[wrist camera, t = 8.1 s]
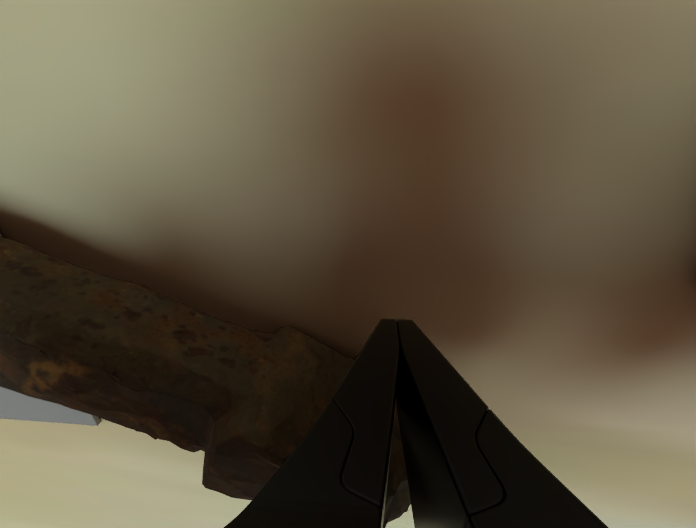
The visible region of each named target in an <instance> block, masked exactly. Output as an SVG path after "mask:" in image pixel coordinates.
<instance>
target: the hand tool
mask: <svg viewBox="0 0 696 528" xmlns="http://www.w3.org/2000/svg"><path fill="white" fill-rule="evenodd" d="M354 361H355V360H354V359H353V358H350V357H348V356H345V355H343V354H341V353H338V352H336V351H334V350H332V349H331V348H329V347H327V346H325V345H323V344H322V343H320V342H318V341H316V340H314V339H313V338H311V337H309V336H308V335H306V334H304V333H303V332H301V331H299V330H298V329H295V328H293V327H290V326H289V327H282V328H280V329H278V330H276V331H274V332H272V333H270V334H269V333H264V332H259V331H255V330H250V329H246V328H243V327H240V326H238V325H235V324H232V323H229V322H225V321H222V320H219V319H216V318H213V317H211V316H209V315H208V314H206V313H204V312H202V311H199V310H197V309H195V308H192V307H190V306H187V305H185V304H182V303H179V302H177V301H174V300H171V299H169V298H166V297H164V296H162V295H160V294H158V293H155V292H153V291H152V290H150V289H148V288H147V287H145V286H142V285H138V284H134V283H130V282H126V281H122V280H118V279H114V278H110V277H106V276H103V275H100V274H97V273H95V272H92V271H89V270H86V269H83V268H80V267H78V266H75V265H73V264H70V263H68V262H65V261H62V260H60V259H57V258H54V257H52V256H49V255H46V254H44V253H42V252H40V251H38V250H36V249H34V248H32V247H30V246H28V245H25V244H22V243H20V242H17V241H13V240H9V239H5V238H2V237H0V387H3V388H6V389H9V390H12V391H15V392H18V393H21V394H23V395H26V396H29V397H33V398H36V399H40V400H44V401H48V402H52V403H56V404H60V405H62V406H65V407H68V408H70V409H74V410H77V411H81V412H84V413H87V414H91V415H94V416H97V417H99V418H102V419H105V420H108V421H111V422H113V423H116V424H119V425H122V426H125V427H127V428H131V429H134V430H136V431H139V432H144V433H146V434H148V435H150V436H151V437H152V438H154V439H155V440H156V439H157V438H158V439H161V440H167V441H170V442H172V443H173V444H175V445H177V446H178V447H180V448H182V449H184V450H188V451H191V452H196V451H199V450H202V451H204V452H205V457H204V466H203V480H202V484H203V485H204V487H205V488H208V489H211V490H214V491H217V492H220V493H222V494H225V495H227V496H230V497H232V498H240V499H247V500H253V499H254V498H255V497H256V495H257V494H258V493H259V492H260V491H261V489H262V488H263V487H264V486H265V485H266V483H267V482H268V481H269V480H270V479H271V477H272V476H273V475H274V474H275V473H276V471H277V470H278V469H279V468H280V467H281V465H282V464H283V463H284V462H285V461H286V459H287V458H288V457H289V456H290V455H291V453H292V452H293V451H294V450H295V448H296V447H297V446H298V445H299V443H300V442H301V441H302V440H303V438H304V437H305V436H306V434H307V433H308V432H309V431H310V429H311V428H312V426H313V425H314V424H315V422H316V421H317V419H318V418H319V416H320V415H321V413H322V412H323V410H324V409H325V407H326V405H327V404H328V402H329V401H330V400H331V398H332V396H333V394H334V393H335V391H336V390H337V388H338V386H339V385H340V383H341V382H342V380H343V379H344V377H345V375H346V374H347V372H348V371H349V369H350V367H351V366H352V364H353V363H354ZM410 504H411V499H410V492H409V486H408V479H407V473H406V466H405V460H404V453H403V447H402V440H401V433H400V427H399V420H398V414H397V406H396V401H395V412H394V422H393V431H392V441H391V451H390V461H389V471H388V481H387V491H386V501H385V511H384V521H383V528H385V526H386V524H387V523H388V522H390V521H392V520H394V519H396V518H399V517H400V516H401V515H402V514H403V513H404V512H407V510H408V507H409V505H410Z"/></svg>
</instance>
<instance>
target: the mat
mask: <svg viewBox="0 0 696 528" xmlns="http://www.w3.org/2000/svg"><path fill="white" fill-rule="evenodd" d="M0 237H2V238H3V236H2V234H1V233H0ZM0 419H14V420H27V421H41V422H55V423H69V424H82V425H96V426H98V424H99V423H100V422H101V421H100V419H99V417H97V416H94V415H91V414H87V413H84V412H81V411H77V410H74V409H70V408H68V407H65V406H62V405H60V404H56V403H52V402H48V401H44V400H40V399H36V398H33V397H29V396H26V395H23V394H21V393H18V392H15V391H12V390H9V389H6V388H3V387H0Z"/></svg>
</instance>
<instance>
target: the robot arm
mask: <svg viewBox="0 0 696 528" xmlns="http://www.w3.org/2000/svg"><path fill="white" fill-rule="evenodd" d="M395 401H396V406H397V414H398V420H399V427H400V433H401V440H402V447H403V453H404V460H405V466H406V473H407V479H408V486H409V492H410V499H411V505H412V512H413V519H414V525H415V528H608V527H607V526H606V525H605V524H604V523H603V522H602V521H601V520H600V519H599V518H598V517H597V516H596V515H595V514H594V513H593V512H592V511H591V510H589V509H588V508H587V507H586V506H585V505H584V504H583V503H582V502H581V501H580V500H579V499H578V498H577V497H576V496H575V495H574V494H573V493H572V492H571V491H570V490H569V489H568V488H566V487H565V486H564V485H563V484H562V483H561V482H560V481H559V480H558V479H557V478H556V477H555V476H554V475H553V474H552V473H551V472H550V471H549V470H548V469H547V468H546V467H545V466H544V465H543V464H542V463H541V462H540V461H539V460H538V459H537V458H535V457H534V456H533V455H532V454H531V453H530V452H529V451H528V450H527V449H526V448H525V447H524V446H523V445H522V444H521V443H520V441H519V440H518V439H517V438H516V437H515V436H514V435H513V434H512V433H511V432H510V431H509V430H508V428H507V427H506V426H505V425H504V424H503V423H502V422H501V421H500V420H499V418H498V417H497V416H496V415H495V414H494V413H493V412H492V410H490V409H489V408H488V406H487V405H486V404H485V403H484V402H483V400H482V399H481V398H480V397H479V396H478V395H477V394H476V392H475V391H474V390H473V389H472V388H471V387H470V386H469V384H468V383H467V382H466V381H465V380H464V379H463V378H462V376H461V375H460V374H459V373H458V372H457V371H456V370H455V368H454V367H453V366H452V365H451V364H450V363H449V362H448V360H447V359H446V358H445V357H444V356H443V355H442V354H441V352H440V351H439V350H438V349H437V348H436V347H435V346H434V344H433V343H432V342H431V341H430V340H429V339H428V338H427V336H426V335H425V334H424V333H423V332H422V331H421V330H420V328H419V327H418V326H417V325H416V324H415V323H414V322H413V321H412V320H408V319H398V320H397V321H396V320H395V319H385V318H383V319H381V320H380V321H379V323H378V324H377V326H376V327H375V329H374V331H373V332H372V334H371V335H370V337H369V339H368V340H367V342H366V343H365V345H364V347H363V348H362V350H361V351H360V353H359V355H358V356H357V358H356V359H355V361H354V363H353V364H352V366H351V367H350V369H349V371H348V372H347V374H346V375H345V377H344V379H343V380H342V382H341V383H340V385H339V386H338V388H337V390H336V391H335V393H334V394H333V396H332V398H331V400H330V401H329V402H328V404H327V405H326V407H325V409H324V410H323V412H322V413H321V415H320V416H319V418H318V419H317V421H316V422H315V424H314V425H313V426H312V428H311V429H310V431H309V432H308V433H307V434H306V436H305V437H304V438H303V440H302V441H301V442H300V443H299V445H298V446H297V447H296V448H295V450H294V451H293V452H292V453H291V455H290V456H289V457H288V458H287V459H286V461H285V462H284V463H283V464H282V465H281V467H280V468H279V469H278V470H277V471H276V473H275V474H274V475H273V476H272V477H271V479H270V480H269V481H268V482H267V483H266V485H265V486H264V487H263V488H262V489H261V491H260V492H259V493H258V494H257V495H256V497H255V498H254V499H253V500H252V501H251V502H250V504H249V505H248V506H247V507H246V508H245V509H244V510H243V511H242V512H241V513H240V514H239V515H238V516H237V517H236V518H235V519H234V520H233V521H231V522H230V523H229V524H228V525H226V526H225V527H224V528H383V521H384V511H385V501H386V491H387V481H388V471H389V461H390V451H391V441H392V431H393V422H394V412H395ZM488 409H489V410H488Z"/></svg>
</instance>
